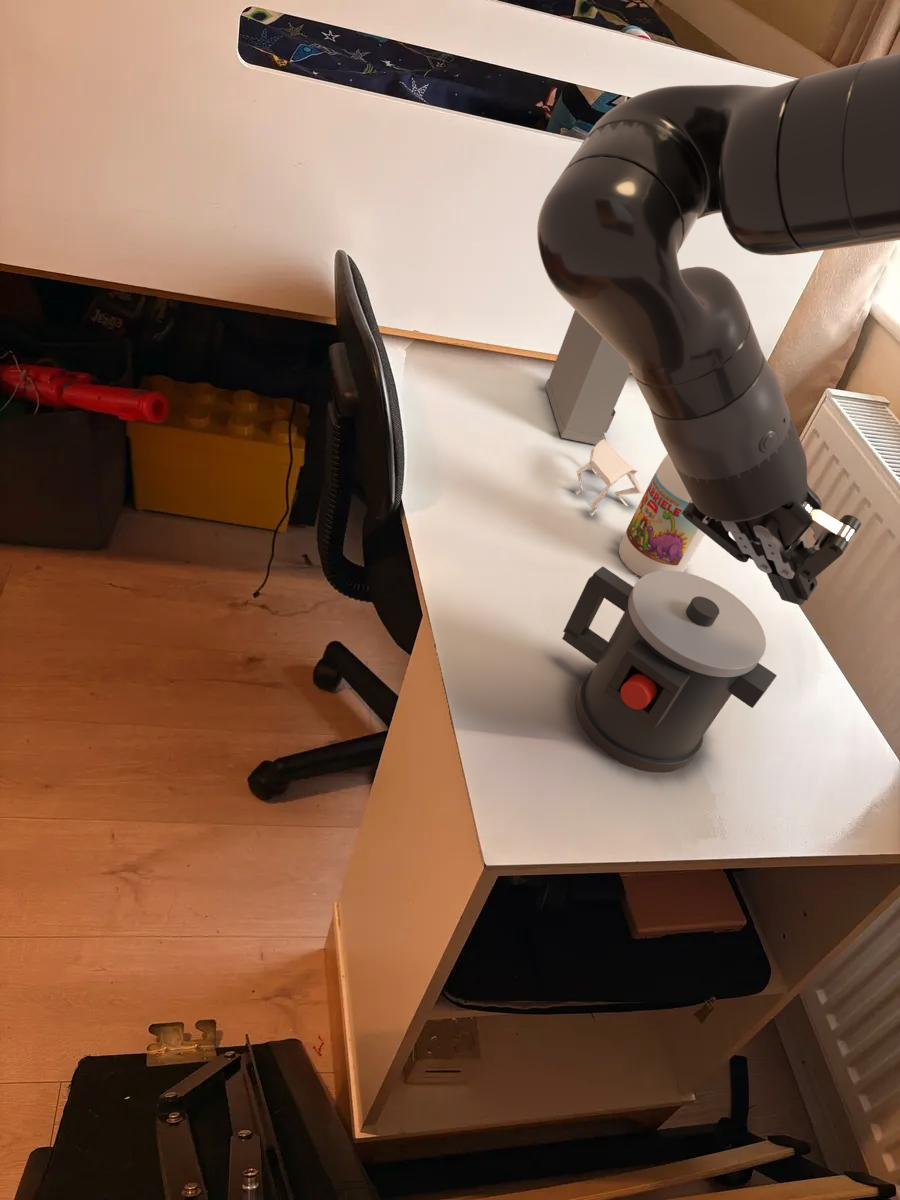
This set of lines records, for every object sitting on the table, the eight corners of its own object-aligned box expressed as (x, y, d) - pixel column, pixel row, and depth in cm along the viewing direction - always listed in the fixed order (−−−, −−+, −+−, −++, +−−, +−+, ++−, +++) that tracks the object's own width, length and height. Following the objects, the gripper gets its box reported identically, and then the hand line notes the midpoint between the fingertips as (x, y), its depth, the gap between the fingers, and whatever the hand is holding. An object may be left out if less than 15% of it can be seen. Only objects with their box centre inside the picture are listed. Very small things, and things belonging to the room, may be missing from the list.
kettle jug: (672, 817, 74) (754, 703, 65) (510, 693, 80) (565, 573, 71) (732, 738, 83) (811, 629, 74) (583, 632, 89) (640, 519, 80)
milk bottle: (644, 534, 106) (721, 384, 93) (694, 574, 102) (781, 424, 89) (603, 549, 101) (678, 393, 88) (653, 592, 97) (739, 436, 85)
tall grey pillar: (603, 448, 119) (684, 266, 103) (560, 439, 117) (635, 253, 102) (584, 396, 129) (655, 223, 113) (544, 387, 128) (610, 211, 112)
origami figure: (644, 524, 107) (661, 490, 104) (582, 518, 105) (597, 484, 101) (610, 466, 116) (624, 433, 113) (551, 460, 113) (564, 426, 110)
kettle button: (640, 715, 70) (653, 695, 69) (615, 697, 71) (627, 676, 70) (649, 705, 72) (662, 685, 70) (625, 687, 72) (636, 667, 71)
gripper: (858, 397, 52) (911, 576, 63) (673, 379, 62) (747, 537, 73) (793, 494, 50) (859, 660, 61) (613, 459, 60) (698, 609, 71)
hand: (798, 593), depth 67 cm, fingers closed
